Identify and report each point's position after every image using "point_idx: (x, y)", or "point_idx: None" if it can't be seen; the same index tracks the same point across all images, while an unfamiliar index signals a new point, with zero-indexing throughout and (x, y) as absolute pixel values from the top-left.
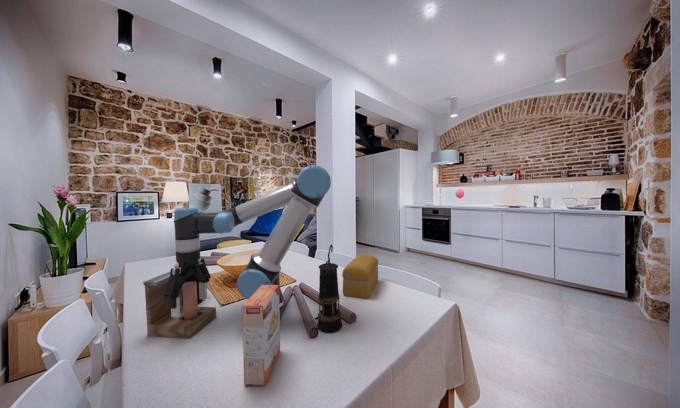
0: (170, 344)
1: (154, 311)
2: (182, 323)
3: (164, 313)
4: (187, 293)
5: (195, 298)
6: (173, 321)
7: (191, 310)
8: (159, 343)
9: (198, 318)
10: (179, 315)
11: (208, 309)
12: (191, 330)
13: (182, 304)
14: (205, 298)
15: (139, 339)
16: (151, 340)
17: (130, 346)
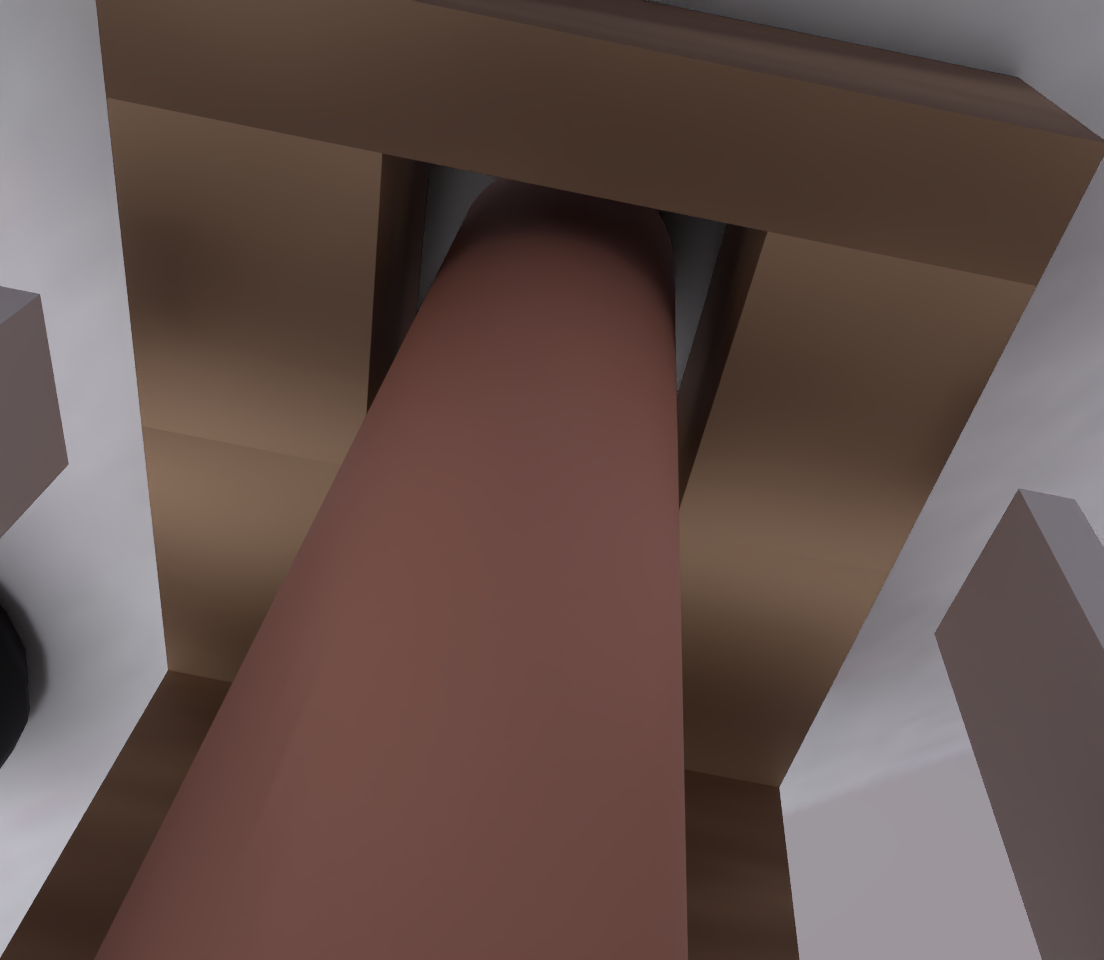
0: (1096, 328)
1: (715, 941)
2: (867, 376)
3: None
4: (683, 880)
5: (513, 499)
6: (738, 562)
7: (653, 386)
8: (997, 491)
9: (699, 126)
10: (1053, 514)
11: (232, 96)
12: (1011, 99)
13: (11, 687)
14: (22, 318)
15: (810, 731)
16: (875, 613)
17: (948, 741)
